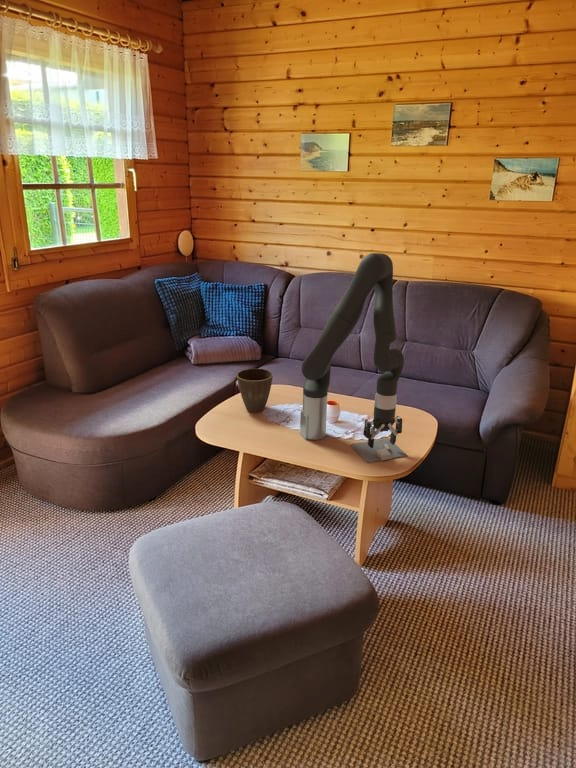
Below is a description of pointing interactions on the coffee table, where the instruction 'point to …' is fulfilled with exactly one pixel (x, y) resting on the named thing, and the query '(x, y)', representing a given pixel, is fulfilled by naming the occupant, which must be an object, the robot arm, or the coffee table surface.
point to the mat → (369, 453)
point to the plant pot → (255, 388)
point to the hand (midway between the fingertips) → (381, 445)
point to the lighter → (383, 453)
